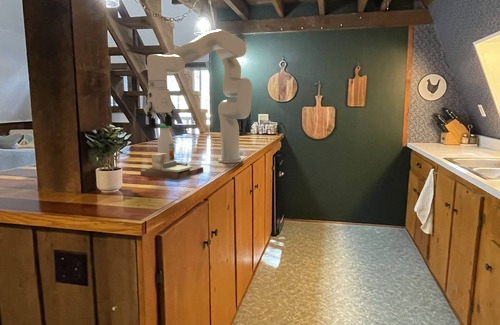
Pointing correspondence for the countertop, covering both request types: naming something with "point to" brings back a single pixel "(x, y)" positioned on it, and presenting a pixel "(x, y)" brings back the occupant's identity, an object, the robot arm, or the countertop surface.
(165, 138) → the milk bottle
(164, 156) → the block
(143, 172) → the board
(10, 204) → the countertop surface
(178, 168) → the lid
